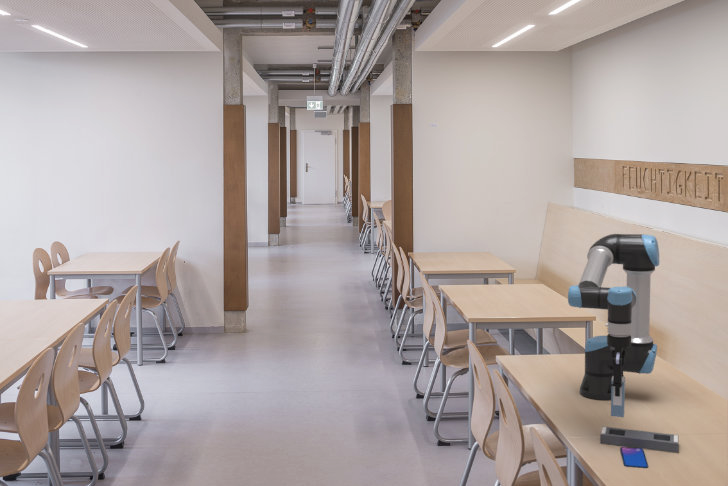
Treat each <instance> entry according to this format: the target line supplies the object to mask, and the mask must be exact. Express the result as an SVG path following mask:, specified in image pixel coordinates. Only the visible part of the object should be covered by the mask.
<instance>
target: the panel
mask: <svg viewBox="0 0 728 486" xmlns="http://www.w3.org/2000/svg"><path fill="white" fill-rule="evenodd" d="M599 439H600V440H599V444H603V445H611V446H612V445H613V446H620V447H633V448H642V449H643V450H644V449H645V450H652V451H661V452H668V453H677V454H679V446H680V445H679V434H671V433H663V432H655V431H645V430H638V429H637V430H636V429H630V428H629V429H627V428H621V427H620V428H619V427H609V426H602V427H601V431H600V438H599Z"/></svg>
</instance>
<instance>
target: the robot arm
mask: <svg viewBox="0 0 728 486" xmlns="http://www.w3.org/2000/svg"><path fill="white" fill-rule="evenodd" d="M586 256H587V257H586V258H587V261H586V264H585V267H584V269H583V272H582V274H581V277H580V280H579V283H578V284H577V285H570V286H569V288H568V291H567V292H568V293H567V301H568V302H567V303H568V305H569V306H570V307H572V308H578V309H596V310H597V309H598V310H607V323H605V326H606V327H607V331H606V332H607V334H606V335H596V336H592V337H589V338H587V339H586V341H585V345H584V375H583V378H582V381H581V383H580V386H579V394H580V395H581V396H582V395H583V396H582V397H584V396H585V398H587V397H588V398H587V399H592V400H601V401H606V400H607V401H609V400H610V401H611V386H613V405H618V406H622V377H625V376H624V375H625V374H624V372H625V373H634V374H635V373H636V374H647V375H648V374H651V373H652V372H653V370H654V369H655V368H654V367H655V362H656V359H657V358H656V357H657V352H658V344H656V343H654V339H653V337H652V336H650V319H651V318H650V317H651V315H650V314H651V313H650V311H651V310H650V308H651V278H652V277H651V276H652V274H653V273H654V272H655V271H656V267H659V265H660V249H659V243H658V240H657V237H656V236H654V235H649V234H642V233H639V234H638V233H637V234H636V233H635V234H634V233H613V234H612V233H611V234H608V235H606V236H603V237H601V238H599V239H598V240H596V241H595V242H594V243H593V244H591V246H590V247H589V249H588V252H587V255H586ZM611 265H622V270H623V271H624V272H625V273H626V286H612V287H605V286H602V285H603V283H604V279H605V276H606V274H607V271H608V268H609V267H610V266H611ZM612 376H613V384H611V381H612Z"/></svg>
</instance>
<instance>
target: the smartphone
mask: <svg viewBox="0 0 728 486" xmlns="http://www.w3.org/2000/svg"><path fill="white" fill-rule="evenodd" d="M619 450H620V455H621V458H622V459H621V460H622V462H623V463H622V464H623V466H624V467H627V468H641V469H649V464H648V461H647V457H646V453H645V450H644V449H643V448H635V447H627V446H620V448H619Z"/></svg>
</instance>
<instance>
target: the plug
mask: <svg viewBox="0 0 728 486" xmlns="http://www.w3.org/2000/svg"><path fill="white" fill-rule="evenodd" d="M611 384H613V376H612V381H611ZM625 386H626V376H624V377H622V406H618V405H613V386H611V400H610V417H614V418H615V417H617V418H624V416H625V399H626V397H625V395H626V394H625V391H626V387H625Z"/></svg>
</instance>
